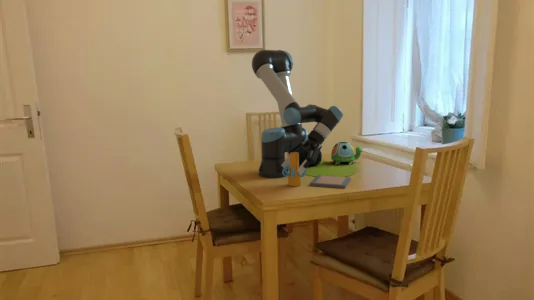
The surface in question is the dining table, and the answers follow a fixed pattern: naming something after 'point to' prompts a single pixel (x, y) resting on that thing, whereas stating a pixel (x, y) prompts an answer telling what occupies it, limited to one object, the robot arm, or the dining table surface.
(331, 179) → the tray
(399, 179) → the dining table surface
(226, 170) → the dining table surface
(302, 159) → the squash
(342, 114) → the robot arm
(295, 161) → the tube with blue rings
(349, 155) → the turtle holder
